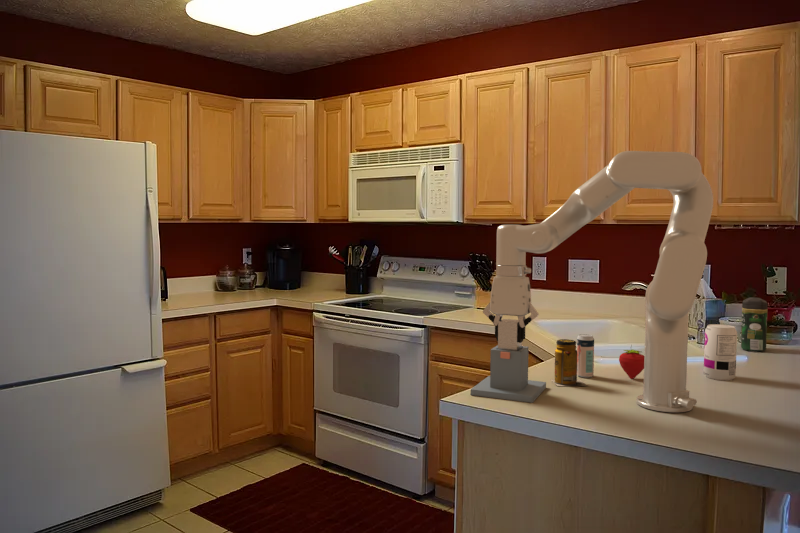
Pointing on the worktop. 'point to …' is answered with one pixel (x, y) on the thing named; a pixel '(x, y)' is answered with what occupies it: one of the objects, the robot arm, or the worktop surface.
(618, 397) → the worktop surface
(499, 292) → the robot arm
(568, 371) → the condiment
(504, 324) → the block
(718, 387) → the worktop surface
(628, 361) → the strawberry
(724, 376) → the supplement can
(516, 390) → the sleeve
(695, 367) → the worktop surface
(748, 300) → the coffee jar
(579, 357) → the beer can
